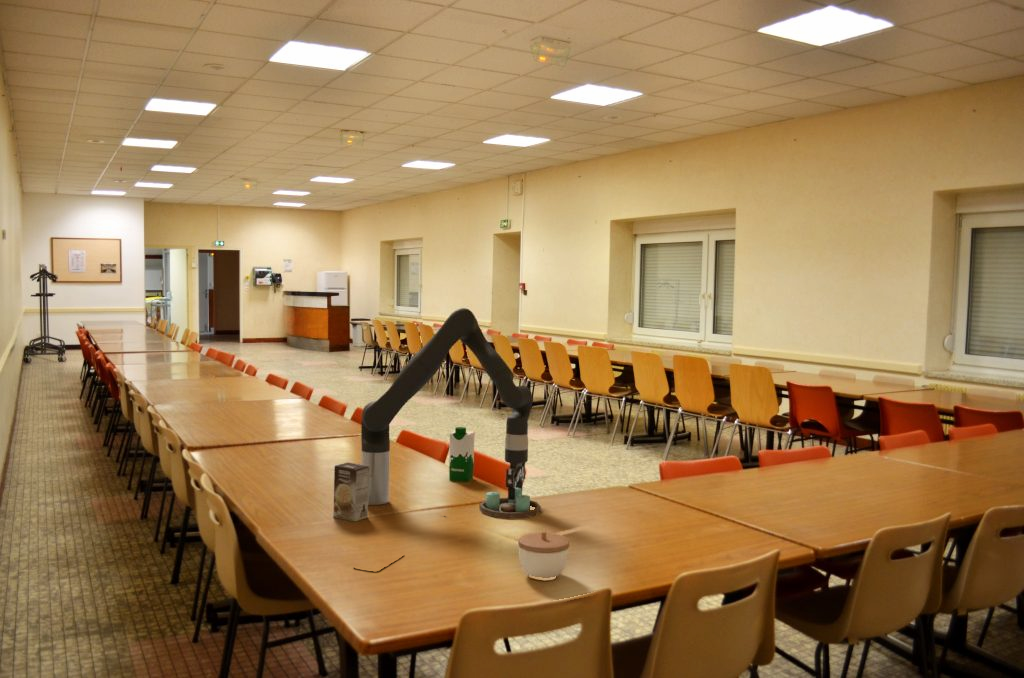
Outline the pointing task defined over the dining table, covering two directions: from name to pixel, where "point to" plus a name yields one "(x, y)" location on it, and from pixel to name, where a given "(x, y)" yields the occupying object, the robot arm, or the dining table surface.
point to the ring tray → (509, 510)
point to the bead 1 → (493, 501)
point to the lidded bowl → (543, 554)
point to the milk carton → (461, 455)
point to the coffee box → (351, 491)
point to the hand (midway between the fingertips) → (515, 496)
